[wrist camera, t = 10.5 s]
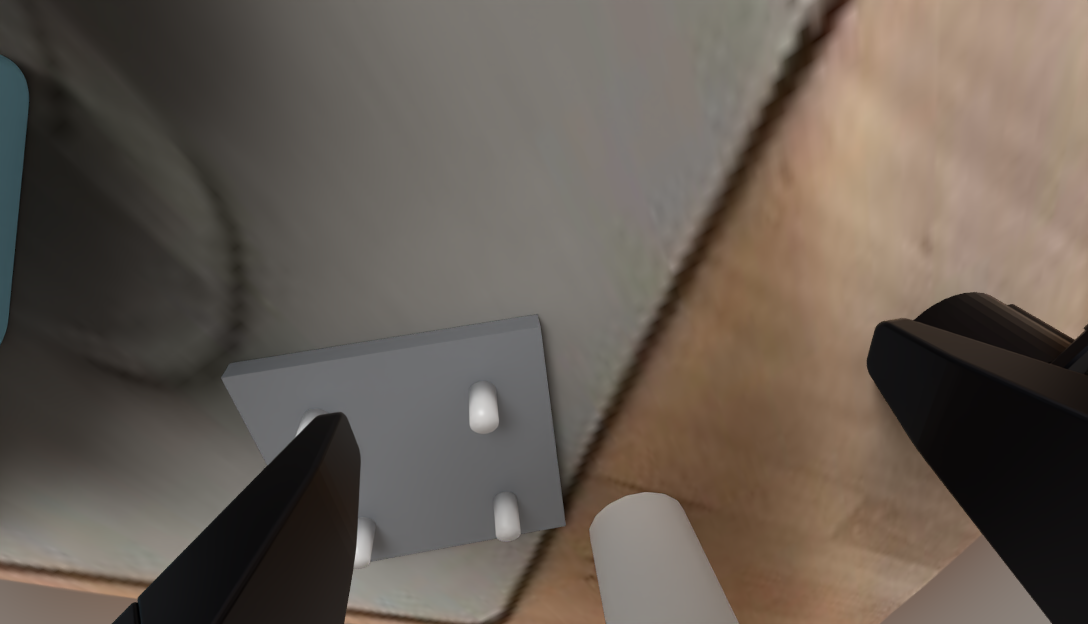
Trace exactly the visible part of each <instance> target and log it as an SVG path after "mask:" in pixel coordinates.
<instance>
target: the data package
mask: <svg viewBox="0 0 1088 624" xmlns="http://www.w3.org/2000/svg"><path fill="white" fill-rule="evenodd" d="M28 108H29V91H28V86H27V82H26V79H25V77H24V75H23V73H22V72H21V70H20V69H19V68H18V66H17V65H16V64H15V63H14V62H12V61H11V60H10V59H8V58H6V57H5V56H3V55H0V345H1V342H2V340H3V338H4V335H5V333H6V329H7V325H8V318H9V307H10V297H11V286H12V276H13V265H14V255H15V244H16V234H17V223H18V213H19V202H20V192H21V182H22V171H23V161H24V150H25V140H26V129H27V119H28Z"/></svg>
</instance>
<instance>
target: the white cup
mask: <svg viewBox="0 0 1088 624" xmlns="http://www.w3.org/2000/svg"><path fill="white" fill-rule="evenodd" d="M589 531H590V540H591V545H592V551H593V556H594V562H595V567H596V572H597V578H598V583H599V589H600V594H601V599H602V605H603V610H604V616H605V621H606V624H739V622H738V620H737V618H736V616H735V614H734V612H733V610H732V608H731V606H730V604H729V602H728V600H727V598H726V596H725V593H724V591H723V589H722V587H721V585H720V583H719V581H718V579H717V577H716V575H715V573H714V571H713V569H712V567H711V565H710V563H709V561H708V558H707V556H706V554H705V552H704V550H703V548H702V546H701V544H700V542H699V540H698V538H697V536H696V534H695V532H694V530H693V528H692V526H691V523H690V521H689V519H688V517H687V515H686V513H685V511H684V509H683V508H682V506H681V505H680V503H679V502H678V500H676V499H674V498H672V497H670V496H668V495H666V494H662V493H652V492H643V493H638V494H632V495H627V496H625V497H622V498H620V499H618V500H616V501H614V502H612V503H610V504H608V505H607V506H606V507H605V508H604V509H603V510H601V511H600V512H599V513H598V514H597V515H596V516H595V518H594V520H593V522H592V524H591V526H590V528H589Z"/></svg>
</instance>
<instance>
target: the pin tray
mask: <svg viewBox="0 0 1088 624" xmlns="http://www.w3.org/2000/svg"><path fill="white" fill-rule="evenodd" d="M221 379H222V381H223V383H224V385H225V387H226V388H227V390H228V392H229V394H230V396H231V398H232V400H233V402H234V404H235V405H236V407H237V409H238V411H239V413H240V415H241V417H242V419H243V420H244V422H245V424H246V426H247V428H248V430H249V432H250V434H251V436H252V437H253V439H254V441H255V443H256V445H257V447H258V449H259V451H260V452H261V454H262V456H263V458H264V460H265V462H266V464H267V466H268V464H269V463H270V462H271V461H272V460H273V459H274V458H275V457H276V456H277V455H278V454H279V453H280V452H281V451H282V450H283V449H284V448H285V447H286V446H287V445H288V444H289V443H290V442H291V441H292V440H293V439H294V438H295V437H296V436H297V435H298V434H299V433H300V432H301V431H302V430H303V429H304V428H305V427H306V426H307V425H308V424H309V423H310V422H311V421H312V420H313V419H314V418H315V417H316V416H318V415H322V414H328V413H334V412H342V413H344V414H345V415H346V417H347V418H348V421H349V423H350V426H351V428H352V431H353V433H354V436H355V439H356V441H357V444H358V446H359V450H360V455H361V471H360V491H359V511H358V531H357V545H356V554H355V562H354V568H353V569H362V568H365V567H367V566H368V565H369V564H370V562H371V561H377V560H382V559H388V558H393V557H398V556H404V555H409V554H415V553H420V552H426V551H431V550H437V549H442V548H448V547H453V546H458V545H464V544H469V543H475V542H480V541H486V540H491V539H499V540H500V541H504V542H509V541H513V540H515V539H517V538H518V537H519V536H520V534H524V533H529V532H535V531H540V530H546V529H551V528H557V527H562V526H566V523H565V516H564V508H563V500H562V492H561V484H560V476H559V468H558V460H557V453H556V445H555V437H554V429H553V421H552V413H551V405H550V397H549V390H548V382H547V374H546V366H545V358H544V350H543V342H542V335H541V327H540V322H539V318H538V314H536V315H530V316H524V317H517V318H511V319H505V320H498V321H492V322H486V323H480V324H473V325H467V326H461V327H454V328H448V329H442V330H436V331H429V332H423V333H417V334H410V335H404V336H398V337H392V338H385V339H379V340H373V341H366V342H360V343H354V344H348V345H341V346H335V347H329V348H322V349H316V350H310V351H304V352H297V353H291V354H285V355H278V356H272V357H266V358H260V359H253V360H247V361H241V362H234V363H230V364H229V365H228V367H227V369H226V370H225V372H224V374H223V375H222V377H221Z"/></svg>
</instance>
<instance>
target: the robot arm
mask: <svg viewBox="0 0 1088 624" xmlns="http://www.w3.org/2000/svg"><path fill="white" fill-rule="evenodd" d="M1083 329H1085V331H1084V332H1083V333H1082V334H1081V335H1080V336H1079V337H1078V338H1076V339H1075V340H1074V339H1072V338H1070V337H1069V336H1067V335H1065V334H1064V333H1062V332H1060V331H1059V330H1057V329H1055V328H1053V327H1052V326H1050V325H1048V324H1047V323H1045V322H1043V321H1041V320H1040V319H1038V318H1036V317H1035V316H1033V315H1031V314H1029V313H1028V312H1026V311H1024V310H1023V309H1021V308H1019V307H1017V306H1016V305H1014V304H1010V305H1006V304H1004V303H1002V302H1001V301H999V300H997V299H996V298H994V297H992V296H990V295H987V294H984V293H977V292H972V293H963V294H959V295H955V296H952V297H950V298H947V299H944V300H942V301H941V302H939V303H937V304H935V305H933V306H932V307H930V308H929V309H927V310H926V311H924V312H923V313H922V314H921V315H920V316H918V317H917V318H916V319H915V320H910V319H906V318H900V319H894V320H888V321H883V322H881V323H879V324H878V325H877V326H876V328H875V331H874V334H873V338H872V342H871V346H870V350H869V353H868V357H867V369H868V372H869V374H870V376H871V378H872V379H873V381H874V382H875V384H876V386H877V387H878V389H879V390H880V392H881V394H882V395H883V397H884V398H885V400H886V402H887V403H888V405H889V406H890V408H891V409H892V411H893V413H894V414H895V416H896V417H897V419H898V421H899V422H900V424H901V425H902V427H903V429H904V430H905V432H906V433H907V435H908V437H909V438H910V440H911V441H912V443H913V444H914V446H915V447H916V449H917V450H918V451H919V453H920V454H921V455H922V457H923V458H924V459H925V461H926V462H927V463H928V465H929V466H930V467H931V468H932V470H933V471H934V472H935V474H936V475H937V476H938V477H939V479H940V480H941V481H942V483H943V484H944V485H945V486H946V488H947V489H948V490H949V492H950V493H951V494H952V496H953V497H954V498H955V499H956V501H957V502H958V503H959V505H960V506H961V507H962V508H963V510H964V511H965V512H966V514H967V515H968V516H969V517H970V519H971V520H972V521H973V523H974V524H975V525H976V526H977V528H978V529H979V530H980V532H981V533H982V534H983V535H984V537H985V538H986V539H987V541H988V542H989V543H990V544H991V546H992V547H993V548H994V549H995V551H996V552H997V553H998V555H999V556H1000V557H1001V559H1002V560H1003V561H1004V563H1005V564H1006V565H1007V566H1008V567H1009V569H1010V570H1011V571H1012V573H1013V574H1014V575H1015V577H1016V578H1017V579H1018V580H1019V582H1020V583H1021V584H1022V586H1023V587H1024V588H1025V589H1026V591H1027V592H1028V593H1029V595H1030V596H1031V597H1032V598H1033V600H1034V601H1035V602H1036V604H1037V605H1038V606H1039V607H1040V609H1041V610H1042V611H1043V613H1044V614H1045V615H1046V617H1047V618H1048V619H1049V620H1050V622H1051V623H1052V624H1088V324H1087V325H1086V326H1085V327H1084V328H1083ZM360 471H361V455H360V450H359V446H358V444H357V441H356V439H355V436H354V433H353V431H352V428H351V426H350V423H349V421H348V418H347V417H346V415H345V414H344V413H342V412H334V413H328V414H322V415H318V416H316V417H315V418H314V419H313V420H312V421H311V422H310V423H309V424H308V425H307V426H306V427H305V428H304V429H303V430H302V431H301V432H300V433H299V434H298V435H297V436H296V437H295V438H294V439H293V440H292V441H291V442H290V443H289V444H288V445H287V446H286V447H285V448H284V449H283V450H282V451H281V452H280V453H279V454H278V455H277V456H276V457H275V458H274V459H273V460H272V461H271V462H270V463H269V464H268V466H267V467H266V468H265V469H264V470H263V471H262V472H261V473H260V474H259V475H258V476H257V477H256V478H255V479H254V480H253V481H252V482H251V483H250V484H249V485H248V486H247V487H246V488H245V489H244V490H243V491H242V492H241V493H240V494H239V495H238V496H237V497H236V498H235V499H234V500H233V501H232V502H231V503H230V504H229V505H228V506H227V507H226V508H225V509H224V510H223V511H222V512H221V513H220V514H219V515H218V516H217V517H216V518H215V519H214V520H213V522H212V523H211V524H210V525H209V526H208V527H207V528H206V529H205V530H204V531H203V532H202V533H201V534H200V535H199V536H198V537H197V538H196V539H195V540H194V541H193V542H192V543H191V544H190V545H189V546H188V547H187V548H186V549H185V550H184V551H183V552H182V553H181V554H180V555H179V556H178V557H177V558H176V559H175V560H174V561H173V562H172V563H171V564H170V565H169V566H168V567H167V568H166V569H165V570H164V571H163V572H162V573H161V574H160V575H159V576H158V577H157V579H156V580H155V581H154V582H153V583H152V584H151V585H150V586H149V587H148V588H147V589H146V590H145V591H144V592H143V593H142V594H141V595H140V596H139V597H138V603H136V602H134V603H132V604H131V605H130V606H129V607H128V608H127V609H126V610H125V611H124V612H123V613H122V614H121V615H120V616H119V617H118V618H117V619H116V620H115V621H114V622H113V623H112V624H344V621H345V615H346V609H347V603H348V597H349V592H350V586H351V580H352V574H353V568H354V562H355V554H356V545H357V531H358V511H359V491H360Z"/></svg>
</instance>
